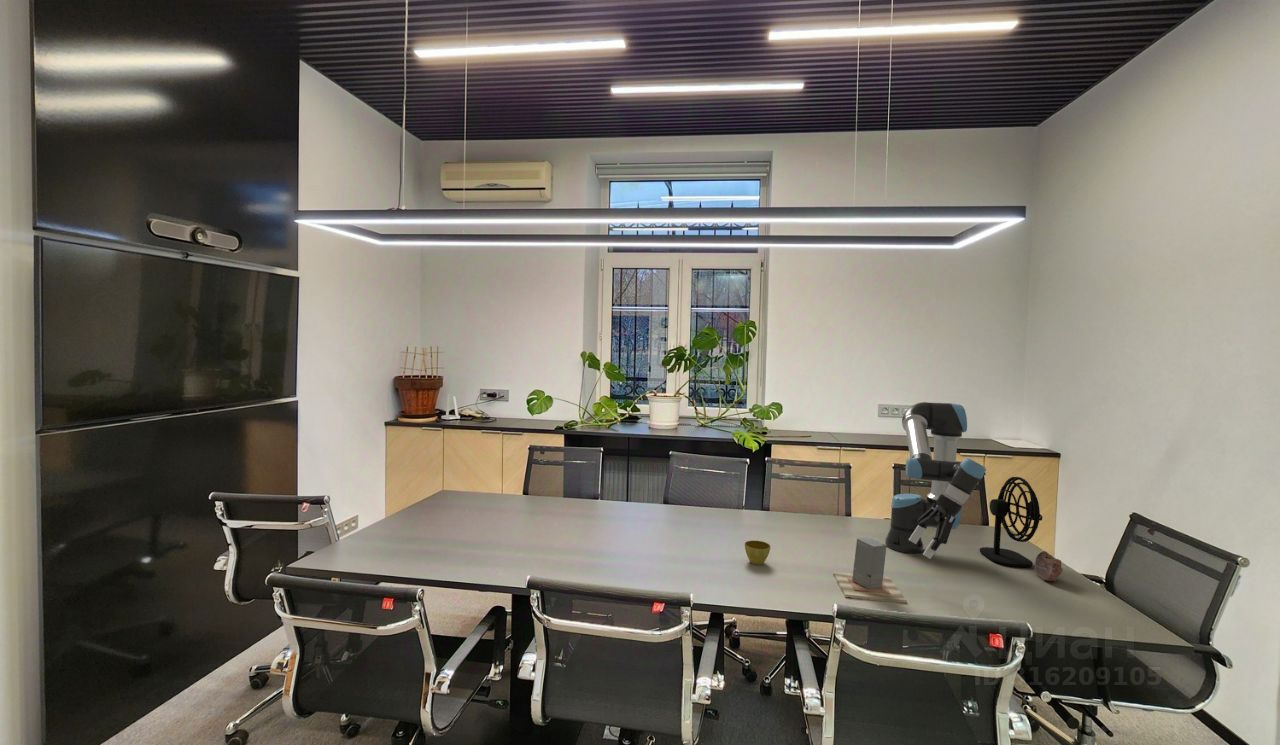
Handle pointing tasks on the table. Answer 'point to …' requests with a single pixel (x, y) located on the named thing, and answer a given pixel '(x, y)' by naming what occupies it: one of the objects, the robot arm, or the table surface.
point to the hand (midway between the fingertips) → (919, 549)
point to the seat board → (858, 591)
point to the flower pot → (757, 551)
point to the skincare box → (869, 563)
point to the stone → (1047, 566)
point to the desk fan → (1012, 523)
